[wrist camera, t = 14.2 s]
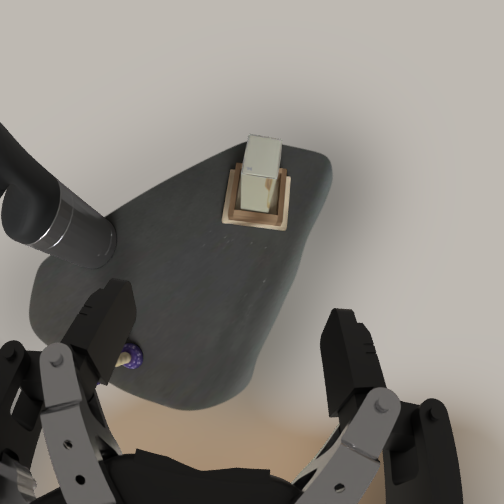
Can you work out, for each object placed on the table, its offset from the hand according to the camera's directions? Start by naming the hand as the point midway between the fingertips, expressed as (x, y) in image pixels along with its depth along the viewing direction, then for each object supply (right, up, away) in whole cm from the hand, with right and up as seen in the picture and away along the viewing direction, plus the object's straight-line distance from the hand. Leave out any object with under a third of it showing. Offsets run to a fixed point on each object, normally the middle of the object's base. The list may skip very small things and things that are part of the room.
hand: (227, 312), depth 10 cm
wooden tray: (+2, +11, +34) cm, 35 cm away
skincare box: (+2, +11, +32) cm, 34 cm away
